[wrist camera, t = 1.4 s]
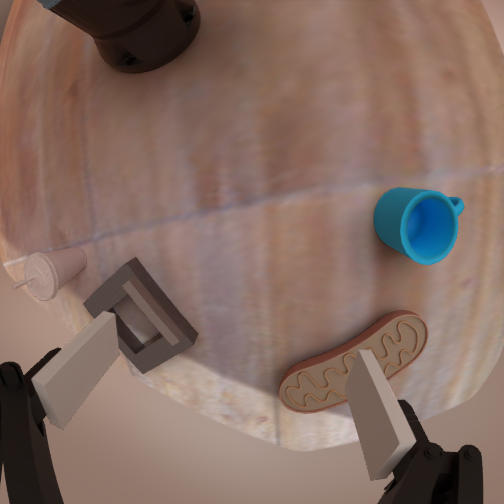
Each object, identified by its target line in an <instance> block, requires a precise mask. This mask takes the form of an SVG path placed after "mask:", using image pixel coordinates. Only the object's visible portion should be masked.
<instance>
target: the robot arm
mask: <svg viewBox="0 0 504 504" xmlns="http://www.w3.org/2000/svg"><path fill="white" fill-rule="evenodd" d="M37 1H38V2H40V3H41V4H42V5H43V7H44V8H46V9H48V10H50V11H52V12H53V13H55V14H57V15H59V16H60V17H62V18H64V19H65V20H67V21H68V22H70V23H72V24H73V25H75V26H77V27H78V28H80V29H81V30H83V31H84V32H86V33H88V34H89V35H91V36H92V37H93V39H94V42H95V44H96V46H97V48H98V50H99V52H100V54H101V56H102V58H103V59H104V60H105V61H106V62H107V63H108V64H109V65H111V66H113V67H114V68H116V69H117V70H120V71H122V72H127V73H141V72H146V71H150V70H153V69H156V68H158V67H160V66H162V65H164V64H166V63H168V62H170V61H171V60H173V59H174V58H176V57H177V56H178V55H179V54H181V53H182V52H183V51H184V50H185V49H186V48H187V47H188V45H189V44H190V43H191V42H192V40H193V39H194V37H195V35H196V33H197V31H198V29H199V25H200V12H199V9H198V6H197V4H196V2H195V0H37ZM119 354H120V353H119V346H118V337H117V328H116V317H115V314H114V313H110V312H106V311H103V312H102V313H101V314H100V315H99V316H97V317H96V318H95V319H94V320H93V321H92V322H91V323H90V324H89V325H87V326H86V327H85V328H84V329H83V330H82V331H81V332H80V333H79V334H78V335H77V336H75V337H74V339H72V340H71V341H70V342H69V343H68V344H67V345H66V346H65V347H64V348H63V349H61V348H56V349H54V350H51V351H49V352H48V353H47V354H46V355H45V356H44V358H42V359H41V360H40V361H39V363H36V365H34V366H33V367H32V368H31V369H30V370H29V371H28V372H27V373H26V374H25V375H23V372H22V370H21V367H20V366H19V365H18V363H15V362H5V363H3V364H1V365H0V482H1V473H2V464H4V472H5V480H6V486H7V492H8V497H9V502H10V504H64V503H63V499H62V496H61V493H60V490H59V487H58V483H57V480H56V476H55V472H54V469H53V464H52V460H51V455H50V451H49V446H48V441H47V435H46V429H45V424H44V421H43V419H44V418H45V416H46V415H47V417H48V419H49V421H50V423H51V424H53V425H54V426H57V427H58V428H60V429H62V430H64V428H65V427H66V425H67V424H68V423H69V421H70V420H71V418H72V417H73V416H74V414H75V413H76V411H77V410H78V409H79V407H80V406H81V405H82V403H83V402H84V401H85V399H86V398H87V397H88V395H89V394H90V392H91V391H92V390H93V388H94V387H95V386H96V384H97V383H98V382H99V381H100V379H101V378H102V376H103V375H104V374H105V373H106V371H107V370H108V369H109V367H110V366H111V365H112V363H113V362H114V361H115V360H116V358H117V357H118V356H119ZM344 390H345V393H346V396H347V399H348V403H349V406H350V409H351V412H352V416H353V419H354V423H355V426H356V429H357V433H358V436H359V440H360V443H361V447H362V450H363V454H364V458H365V461H366V465H367V469H368V473H369V476H370V480H371V481H372V480H379V479H385V478H387V477H388V476H389V474H390V473H391V472H392V471H393V474H394V479H393V480H392V481H391V482H390V483H389V484H388V485H387V486H386V487H385V488H384V490H386V491H385V492H384V494H383V496H382V497H381V499H380V500H379V502H378V504H483V468H482V456H481V452H480V451H479V450H478V448H476V447H475V446H473V445H464V446H462V447H461V449H460V450H459V451H458V452H445V451H443V449H442V448H441V447H440V446H439V445H437V444H436V443H431V442H429V440H428V438H427V436H426V434H425V432H424V430H423V428H422V426H421V424H420V422H419V421H418V418H417V416H416V415H415V412H414V410H413V408H412V406H411V405H410V404H408V403H407V402H406V401H405V400H397V399H396V397H395V395H394V393H393V391H392V389H391V387H390V385H389V383H388V381H387V379H386V377H385V375H384V373H383V371H382V369H381V368H380V366H379V364H378V362H377V360H376V358H375V356H374V354H373V352H372V351H371V350H358V352H357V355H356V358H355V361H354V364H353V366H352V369H351V372H350V374H349V377H348V379H347V382H346V384H345V387H344Z"/></svg>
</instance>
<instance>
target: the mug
mask: <svg viewBox="0 0 504 504" xmlns="http://www.w3.org/2000/svg"><path fill="white" fill-rule="evenodd" d="M454 206H455V207H454ZM463 209H464V203H463V201H462V199H460V198H458V197H447V196H445V195H444V194H442V193H441V192H437V191H432V190H423V189H412V188H401V187H399V188H395V189H391V190H389V191H388V192H386V193H385V194H384V195H383V196H382V197H381V198H380V200H379V201H378V203H377V206H376V208H375V212H374V225H375V230H376V232H377V234H378V236H379V238H380V239H381V240H382V241H383V242H384V243H385V244H386V245H388V246H390V247H392V248H393V249H395V250H397V251H398V252H400V253H402V254H403V255H405V256H407V257H408V258H410V259H412V260H413V261H415V262H418V263H420V264H424V265H431V264H434V263H437V262H439V261H441V260H442V259H443V258H445V257H446V256H447V255H448V253H449V252H450V251H451V249H452V248H453V246H454V243H455V241H456V238H457V233H458V216H459V215H460V214H461V213H462V211H463Z"/></svg>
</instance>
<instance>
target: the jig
mask: <svg viewBox="0 0 504 504" xmlns="http://www.w3.org/2000/svg"><path fill="white" fill-rule="evenodd" d="M127 294H129V296H130V297H131V298H132V299H133V301H134V302H135V303H136V304H137V306H138V307H139V308H140V309H141V310H142V312H143V313H144V314H145V315H146V316H147V318H148V319H149V320H150V321H151V322H152V324H153V325H154V326H155V327H156V328H157V329H158V331H159V332H160V333H159V334H158V335H156V336H155V337H153V338H152V339H150V340H149V341H147V342H146V343H144V344H142V343H141V342H140V341H139V340H138V339H137V337H136V336H135V335H134V334H133V333H132V332H131V331H130V329H129V328H128V327H127V326H126V325H125V323H124V322H123V321H122V320H121V319H120V317H119V316H118V315H117V314H116V312H115V311H114V310H113V309H112V307H113V306H114V305H115V304H117V303H118V302H119V301H120V300H121V299H123V298H124V297H125V296H126V295H127ZM83 304H84V306H85V307H86V308H87V310H88V311H89V312H90V314H91V315H92V316H93V318H94V319H95V318H96V317H97V316H99V315H100V314H101V313H102V312H103V311H106V312H110V313H114V314H115V317H116V328H117V337H118V346H119V349H120V350H121V351H122V352H123V353H124V354H125V355H126V357H127V358H128V359H129V360H130V361H131V362H132V363H133V364H134V365H135V366H136V367H137V368H138V369H139V370H140V371H141V373H142V374H144V373H146V372H148V371H149V370H151V369H153V368H155V367H156V366H158V365H160V364H162V363H163V362H165V361H167V360H169V359H170V358H172V357H174V356H175V355H177V354H179V353H181V352H182V351H184V350H186V349H187V348H189V347H191V346H192V345H194V343H195V340H196V338H197V336H198V333H197V332H196V331H195V329H194V328H193V327H192V326H191V325H190V324H189V323H188V321H187V320H186V319H185V318H184V317H183V316H182V314H181V313H180V312H179V311H178V310H177V308H176V307H175V306H174V305H173V304H172V302H171V301H170V300H169V299H168V298H167V296H166V295H165V294H164V293H163V291H162V290H161V289H160V288H159V286H158V285H157V284H156V283H155V281H154V280H153V279H152V277H151V276H150V275H149V274H148V272H147V271H146V270H145V268H144V267H143V266H142V264H141V263H140V262H139V261H138V259H137V258H136V257H135V258H133V259H132V260H130V261H128V262H127V263H126V264H124V265H123V266H122V267H121V268H120V269H119V270H118V271H117V272H116V273H115V274H114V275H112V276H111V277H110V278H109V279H108V280H107V281H106V282H105V283H104V284H103V285H102V286H101V287H100V288H99V289H98V290H97V291H95V292H94V293H93V294H92V295H91V296H90V297H89V298H88V299H87V300H86V301H85V302H84V303H83Z"/></svg>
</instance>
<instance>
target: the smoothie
mask: <svg viewBox="0 0 504 504" xmlns="http://www.w3.org/2000/svg"><path fill="white" fill-rule="evenodd" d="M85 266H86V256H85V254H84V252H83V251H82V250H81V249H80V248H78V247H74V248H68V249H63V250H58V251H53V252H48V253H43V254H42V253H38V252H36V253H34V254H32V255H30V256H28V258H27V259H26V261H25V264H24V277H25V279H24V280H22V281H20V282H18V283H16V284H15V285H13V286H12V287H13V289H17V288H18V287H20V286H22V285H24V284H26V283H27V286H28V288H29V290H30V291H31V293H32V294H33V295H34V296H35V297H36V298H38V299H39V300H42V301H47V300H49V299H52V298H53V297H55V296H56V294H57V292H58V290H59V289H61V288H62V287H63V286H64V285H65V284H66V283H67V282H68V281H70V280H71V279H72V278H73V277H74V276H76V275H77V274H78V273H79V272H80V271H82V270H83V269H84V268H85Z"/></svg>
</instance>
